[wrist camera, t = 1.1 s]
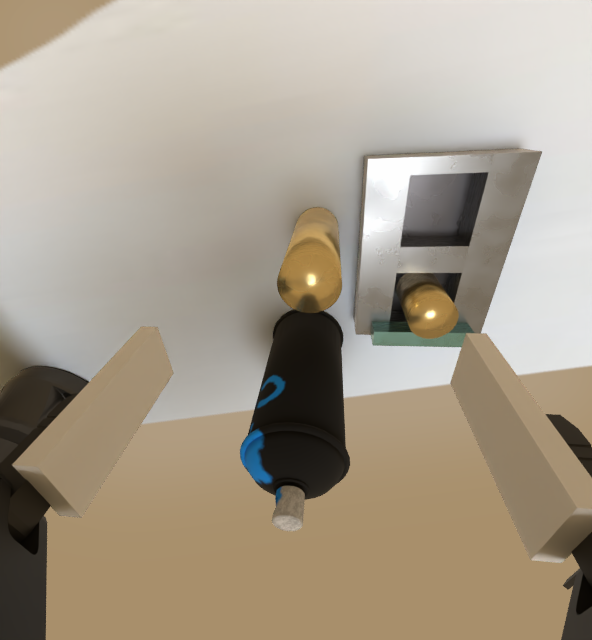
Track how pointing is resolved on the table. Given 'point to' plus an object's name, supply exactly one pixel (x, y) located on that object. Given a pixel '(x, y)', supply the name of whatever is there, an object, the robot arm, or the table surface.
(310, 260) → the brass rod
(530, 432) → the robot arm
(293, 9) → the table surface
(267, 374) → the aerosol can
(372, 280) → the jig
